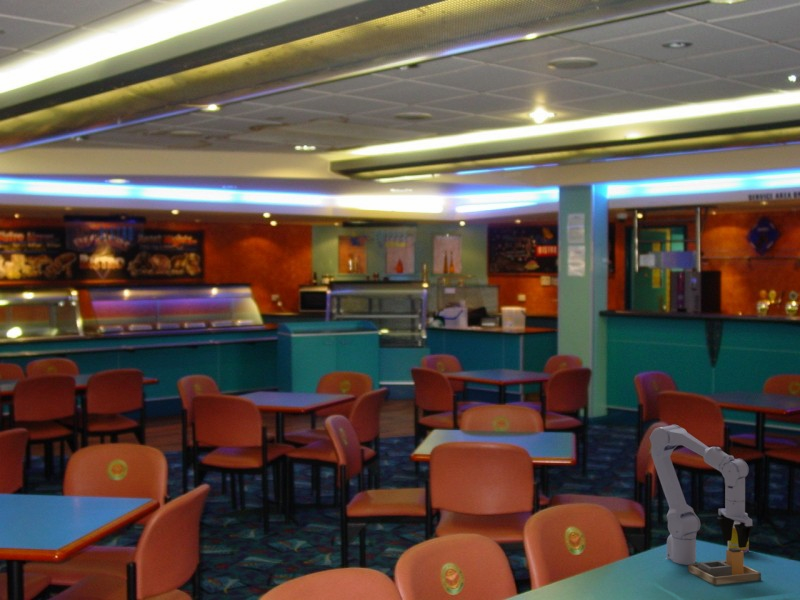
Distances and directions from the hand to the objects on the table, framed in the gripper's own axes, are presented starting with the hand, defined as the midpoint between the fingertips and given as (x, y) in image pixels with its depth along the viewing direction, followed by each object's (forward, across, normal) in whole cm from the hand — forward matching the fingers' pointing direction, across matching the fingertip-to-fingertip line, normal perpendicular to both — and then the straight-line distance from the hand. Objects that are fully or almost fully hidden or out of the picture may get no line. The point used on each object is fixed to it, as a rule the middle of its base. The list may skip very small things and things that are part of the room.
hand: (734, 543), depth 306 cm
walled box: (+10, 0, +4) cm, 11 cm away
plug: (+9, 0, 0) cm, 9 cm away
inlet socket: (+9, 0, +7) cm, 12 cm away
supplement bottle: (+10, +22, -16) cm, 30 cm away
